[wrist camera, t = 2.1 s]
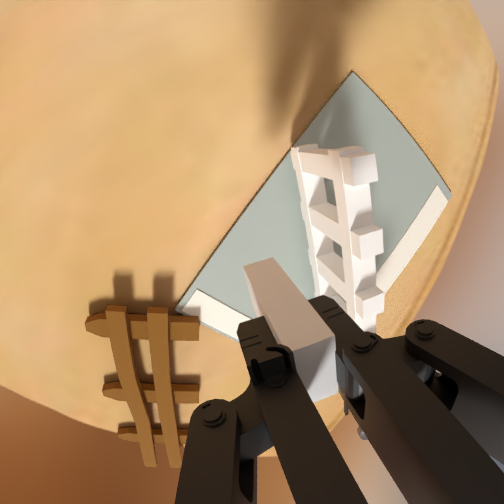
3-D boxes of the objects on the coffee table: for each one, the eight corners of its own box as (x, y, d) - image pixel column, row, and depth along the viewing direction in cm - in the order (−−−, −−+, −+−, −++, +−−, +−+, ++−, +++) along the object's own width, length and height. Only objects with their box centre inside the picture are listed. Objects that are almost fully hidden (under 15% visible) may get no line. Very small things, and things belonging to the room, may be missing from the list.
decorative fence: (198, 301, 25) (84, 297, 22) (199, 314, 23) (77, 309, 21) (200, 456, 33) (128, 453, 31) (201, 467, 31) (127, 465, 29)
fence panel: (334, 334, 28) (378, 393, 20) (319, 339, 28) (360, 401, 20) (308, 143, 21) (374, 147, 13) (288, 147, 21) (347, 152, 13)
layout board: (351, 72, 21) (353, 71, 20) (450, 194, 27) (452, 195, 27) (174, 308, 25) (174, 310, 24) (312, 373, 31) (313, 376, 31)
